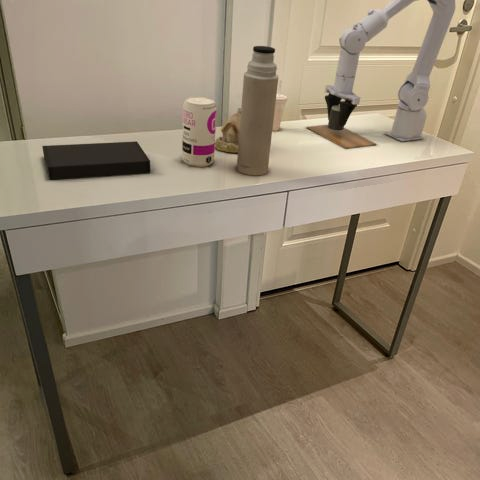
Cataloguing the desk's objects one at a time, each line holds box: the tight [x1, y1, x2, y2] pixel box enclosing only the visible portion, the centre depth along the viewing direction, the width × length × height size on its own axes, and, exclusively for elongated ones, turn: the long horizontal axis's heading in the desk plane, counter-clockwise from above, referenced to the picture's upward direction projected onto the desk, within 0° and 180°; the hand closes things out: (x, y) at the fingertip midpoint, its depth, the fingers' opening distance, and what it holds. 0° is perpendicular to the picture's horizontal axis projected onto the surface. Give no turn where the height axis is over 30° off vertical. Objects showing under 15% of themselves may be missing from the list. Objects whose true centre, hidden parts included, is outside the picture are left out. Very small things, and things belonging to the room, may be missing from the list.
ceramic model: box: [215, 107, 241, 153], centre depth 139 cm, size 14×11×10 cm
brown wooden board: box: [306, 124, 377, 150], centre depth 157 cm, size 12×20×1 cm, turn 29°
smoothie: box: [272, 80, 288, 132], centre depth 153 cm, size 6×6×14 cm
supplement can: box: [181, 96, 218, 168], centre depth 125 cm, size 8×8×15 cm
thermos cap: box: [327, 105, 345, 130], centre depth 156 cm, size 5×5×6 cm
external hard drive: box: [41, 140, 151, 180], centre depth 121 cm, size 14×23×3 cm, turn 112°
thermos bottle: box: [236, 45, 279, 176], centre depth 120 cm, size 8×8×28 cm
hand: (336, 122), depth 157 cm, fingers closed on thermos cap, 5 cm apart
